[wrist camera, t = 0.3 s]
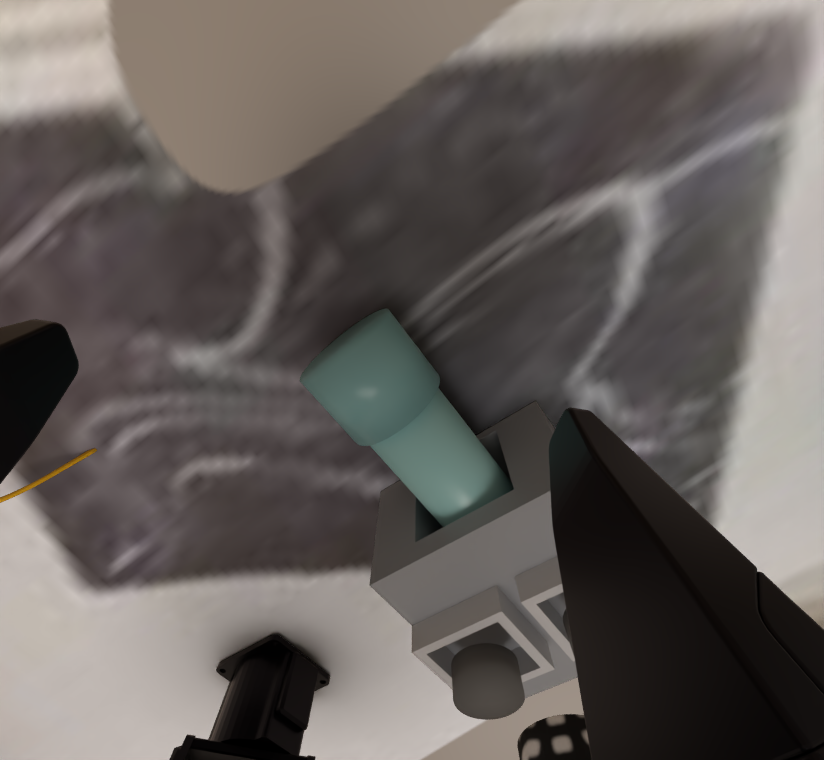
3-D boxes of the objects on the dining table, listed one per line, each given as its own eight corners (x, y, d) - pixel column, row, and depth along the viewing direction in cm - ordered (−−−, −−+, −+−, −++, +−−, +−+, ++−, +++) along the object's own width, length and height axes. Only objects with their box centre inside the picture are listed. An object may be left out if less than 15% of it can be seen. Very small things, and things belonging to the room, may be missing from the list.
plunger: (474, 693, 22) (478, 727, 21) (437, 659, 21) (439, 693, 20) (530, 670, 21) (537, 703, 20) (495, 634, 20) (500, 666, 19)
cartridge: (578, 544, 29) (609, 617, 24) (508, 578, 30) (525, 653, 25) (392, 297, 22) (384, 330, 17) (313, 354, 23) (287, 399, 19)
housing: (483, 601, 32) (503, 736, 24) (380, 491, 28) (366, 611, 20) (627, 533, 29) (701, 662, 21) (535, 400, 25) (587, 499, 17)
